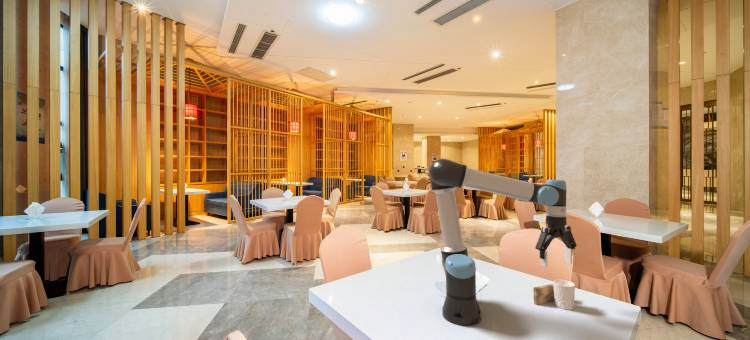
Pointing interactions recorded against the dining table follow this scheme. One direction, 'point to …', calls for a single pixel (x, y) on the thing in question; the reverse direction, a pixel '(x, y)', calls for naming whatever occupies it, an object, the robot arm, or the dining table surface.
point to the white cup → (564, 294)
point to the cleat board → (543, 294)
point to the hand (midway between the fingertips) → (556, 264)
